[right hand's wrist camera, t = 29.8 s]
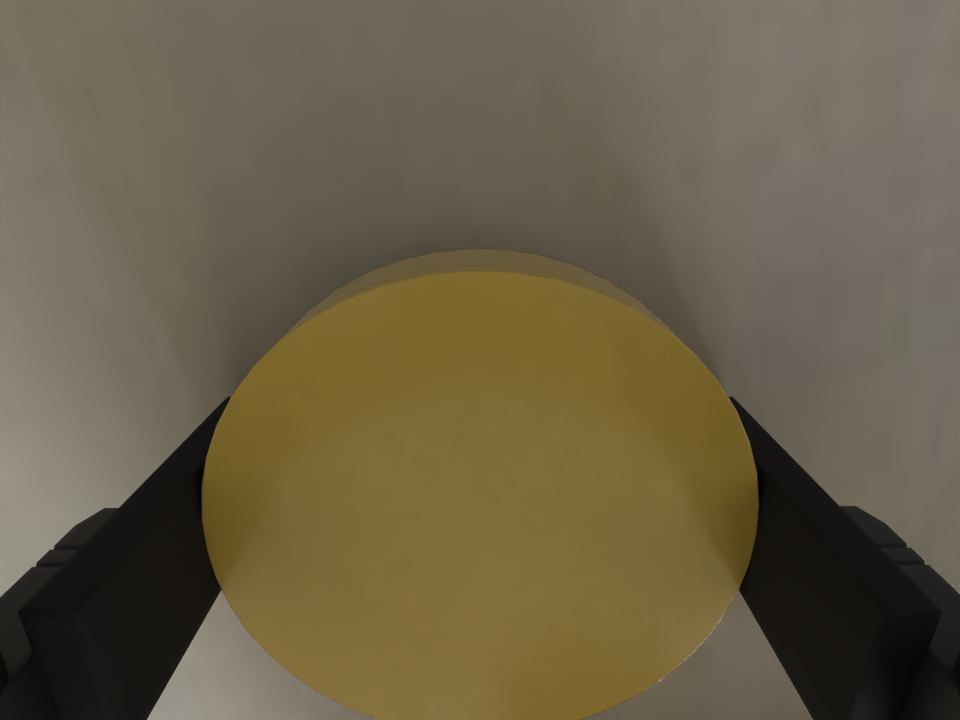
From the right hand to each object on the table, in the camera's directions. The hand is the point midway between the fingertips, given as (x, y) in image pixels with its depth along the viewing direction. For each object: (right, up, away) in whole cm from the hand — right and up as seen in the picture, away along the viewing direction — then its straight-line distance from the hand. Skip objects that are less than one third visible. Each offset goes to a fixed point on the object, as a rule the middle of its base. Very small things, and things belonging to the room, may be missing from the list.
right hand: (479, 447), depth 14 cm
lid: (0, -1, -3) cm, 3 cm away
